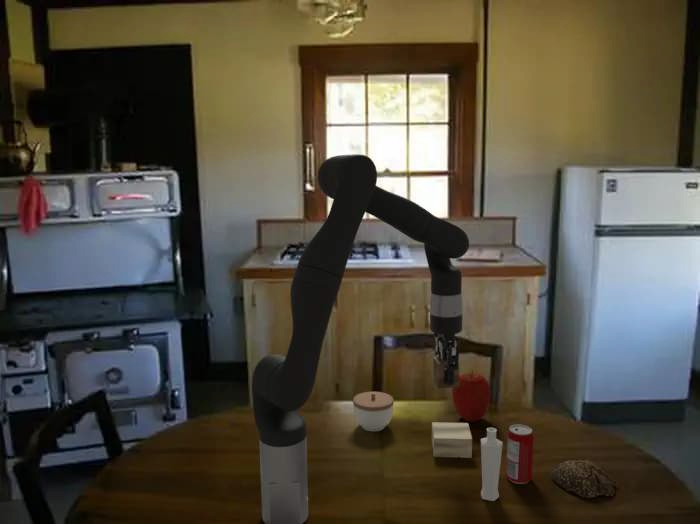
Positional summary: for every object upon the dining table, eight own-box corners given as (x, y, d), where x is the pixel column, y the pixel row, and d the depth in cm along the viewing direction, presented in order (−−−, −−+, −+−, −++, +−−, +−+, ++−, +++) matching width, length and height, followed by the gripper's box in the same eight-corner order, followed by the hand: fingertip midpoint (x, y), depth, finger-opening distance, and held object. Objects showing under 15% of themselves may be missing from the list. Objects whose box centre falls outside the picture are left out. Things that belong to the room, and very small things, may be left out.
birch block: (471, 458, 151) (472, 439, 150) (433, 457, 152) (433, 438, 151) (467, 441, 160) (468, 423, 159) (431, 440, 160) (432, 422, 160)
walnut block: (459, 386, 149) (459, 362, 148) (438, 388, 149) (438, 364, 147) (453, 379, 154) (453, 355, 153) (433, 380, 153) (433, 357, 152)
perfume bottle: (484, 487, 138) (486, 423, 135) (503, 494, 135) (505, 428, 132) (474, 496, 134) (475, 430, 131) (493, 503, 131) (495, 436, 129)
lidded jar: (348, 432, 165) (347, 398, 163) (359, 416, 175) (359, 383, 173) (388, 437, 162) (388, 403, 160) (397, 420, 172) (397, 387, 170)
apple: (487, 411, 177) (489, 364, 174) (492, 427, 167) (494, 377, 165) (450, 410, 178) (451, 363, 175) (452, 426, 168) (453, 376, 166)
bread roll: (543, 476, 143) (544, 455, 142) (587, 466, 147) (588, 446, 146) (582, 505, 131) (583, 483, 130) (629, 493, 135) (630, 471, 134)
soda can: (534, 476, 142) (536, 425, 140) (527, 487, 138) (530, 435, 135) (510, 470, 145) (511, 420, 143) (502, 480, 140) (504, 430, 138)
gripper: (471, 318, 141) (470, 390, 145) (453, 302, 155) (452, 368, 159) (438, 320, 141) (438, 392, 144) (423, 304, 155) (423, 370, 158)
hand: (445, 379), depth 151 cm, fingers closed on walnut block, 5 cm apart
